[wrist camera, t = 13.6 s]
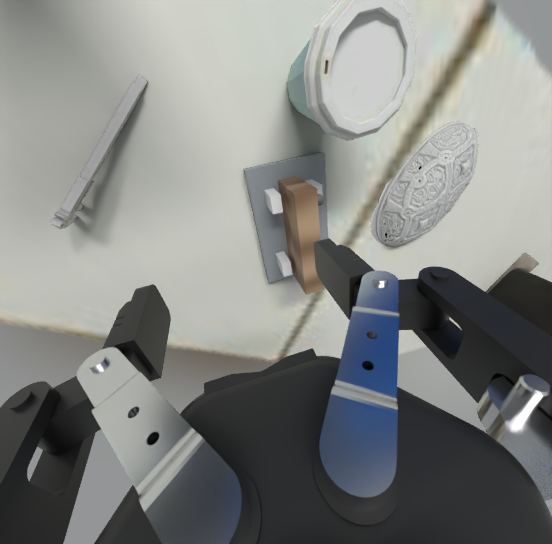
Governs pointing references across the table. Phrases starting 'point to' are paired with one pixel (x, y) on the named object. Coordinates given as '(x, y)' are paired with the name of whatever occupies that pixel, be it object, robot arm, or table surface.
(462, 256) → the table surface
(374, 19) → the disposable coffee cup
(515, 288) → the shoulder bag
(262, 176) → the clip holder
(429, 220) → the oval brooch
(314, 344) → the table surface
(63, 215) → the caliper
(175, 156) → the table surface
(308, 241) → the cabinet door
